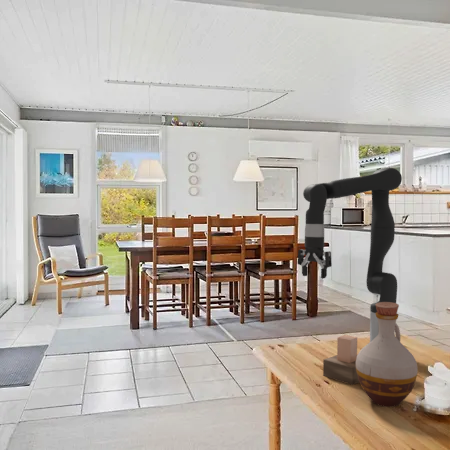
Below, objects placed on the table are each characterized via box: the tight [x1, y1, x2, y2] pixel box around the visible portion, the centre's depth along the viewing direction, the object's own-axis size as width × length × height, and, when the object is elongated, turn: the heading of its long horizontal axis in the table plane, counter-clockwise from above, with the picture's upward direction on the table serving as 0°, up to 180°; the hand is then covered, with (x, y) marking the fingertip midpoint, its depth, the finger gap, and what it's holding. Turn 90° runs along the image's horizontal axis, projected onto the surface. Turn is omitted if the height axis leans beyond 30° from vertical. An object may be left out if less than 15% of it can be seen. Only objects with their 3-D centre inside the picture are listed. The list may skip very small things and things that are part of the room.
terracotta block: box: [336, 334, 358, 363], centre depth 169 cm, size 5×5×8 cm
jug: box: [356, 302, 418, 408], centre depth 147 cm, size 20×18×30 cm
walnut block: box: [322, 354, 360, 386], centre depth 169 cm, size 12×12×6 cm
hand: (314, 277), depth 188 cm, fingers open, 8 cm apart
